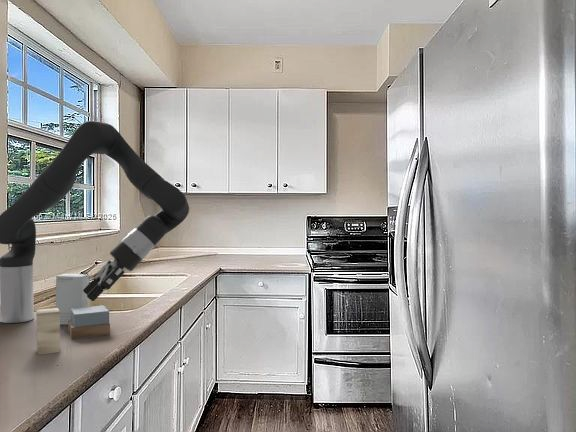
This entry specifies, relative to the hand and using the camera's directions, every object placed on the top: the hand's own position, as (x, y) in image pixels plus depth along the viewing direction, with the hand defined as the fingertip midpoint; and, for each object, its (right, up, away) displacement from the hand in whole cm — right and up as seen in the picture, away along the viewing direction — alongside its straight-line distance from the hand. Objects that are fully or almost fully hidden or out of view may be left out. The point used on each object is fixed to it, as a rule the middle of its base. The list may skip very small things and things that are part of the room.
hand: (87, 296), depth 131 cm
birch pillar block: (-8, -13, -4) cm, 16 cm away
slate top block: (-5, -9, +13) cm, 17 cm away
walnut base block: (-5, -13, +13) cm, 19 cm away
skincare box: (-15, -12, +25) cm, 32 cm away
